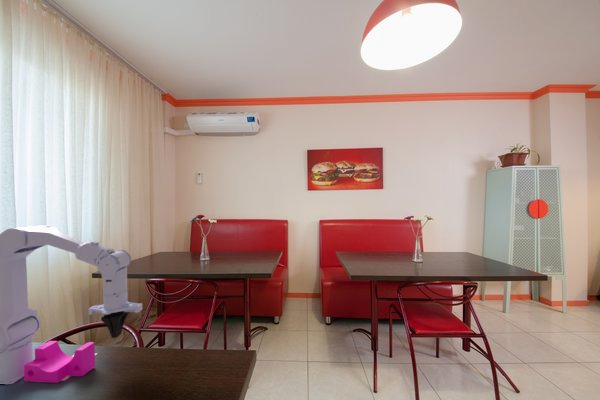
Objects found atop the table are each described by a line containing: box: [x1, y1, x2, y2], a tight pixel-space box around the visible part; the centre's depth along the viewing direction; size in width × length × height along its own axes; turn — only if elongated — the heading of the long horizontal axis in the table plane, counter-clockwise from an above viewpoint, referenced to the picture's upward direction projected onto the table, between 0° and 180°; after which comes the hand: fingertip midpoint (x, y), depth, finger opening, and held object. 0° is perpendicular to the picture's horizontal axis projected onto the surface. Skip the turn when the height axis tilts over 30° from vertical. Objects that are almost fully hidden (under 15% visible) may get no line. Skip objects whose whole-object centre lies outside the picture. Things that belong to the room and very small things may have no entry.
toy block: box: [23, 340, 96, 384], centre depth 66 cm, size 15×6×8 cm, turn 85°
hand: (116, 335), depth 69 cm, fingers closed
